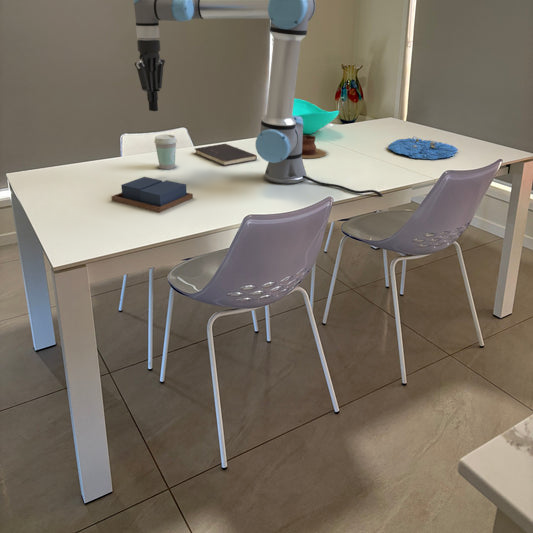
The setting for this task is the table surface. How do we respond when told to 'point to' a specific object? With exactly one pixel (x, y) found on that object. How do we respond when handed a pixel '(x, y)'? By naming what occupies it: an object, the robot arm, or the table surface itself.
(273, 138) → the robot arm
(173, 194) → the pad
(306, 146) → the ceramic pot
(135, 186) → the pad
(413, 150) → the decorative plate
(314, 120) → the table top decor
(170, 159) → the coffee cup
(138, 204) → the brown tray
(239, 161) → the hardcover book
